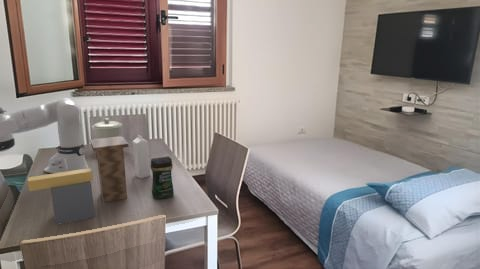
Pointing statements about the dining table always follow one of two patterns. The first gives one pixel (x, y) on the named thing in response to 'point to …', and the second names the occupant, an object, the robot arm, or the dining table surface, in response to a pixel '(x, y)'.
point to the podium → (72, 202)
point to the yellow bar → (59, 179)
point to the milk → (141, 157)
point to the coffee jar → (162, 177)
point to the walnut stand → (111, 167)
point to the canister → (107, 129)
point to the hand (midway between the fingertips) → (30, 119)
